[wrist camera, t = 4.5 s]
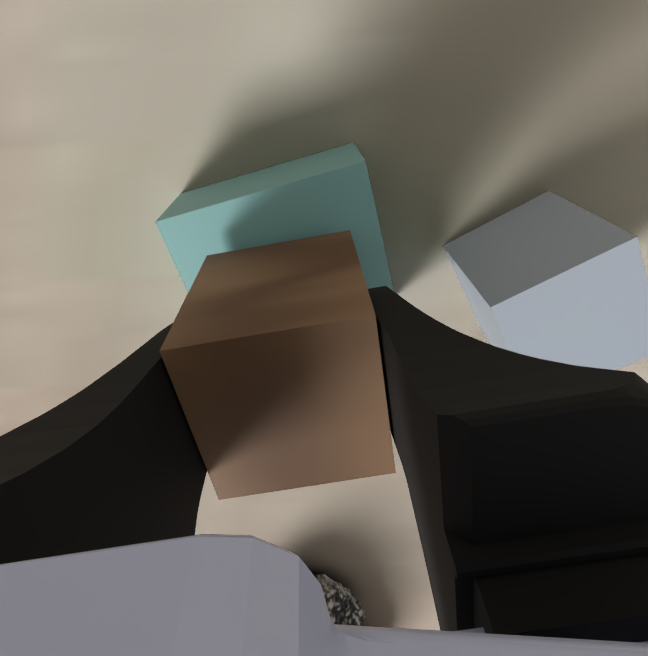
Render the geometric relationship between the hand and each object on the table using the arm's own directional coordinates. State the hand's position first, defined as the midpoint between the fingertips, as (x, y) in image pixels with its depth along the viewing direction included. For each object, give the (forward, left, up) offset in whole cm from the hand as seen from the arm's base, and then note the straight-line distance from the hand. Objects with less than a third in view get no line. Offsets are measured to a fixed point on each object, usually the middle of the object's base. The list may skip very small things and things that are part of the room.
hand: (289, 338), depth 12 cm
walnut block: (0, 0, -2) cm, 2 cm away
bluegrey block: (-8, +2, -6) cm, 10 cm away
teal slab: (0, 0, -6) cm, 6 cm away
